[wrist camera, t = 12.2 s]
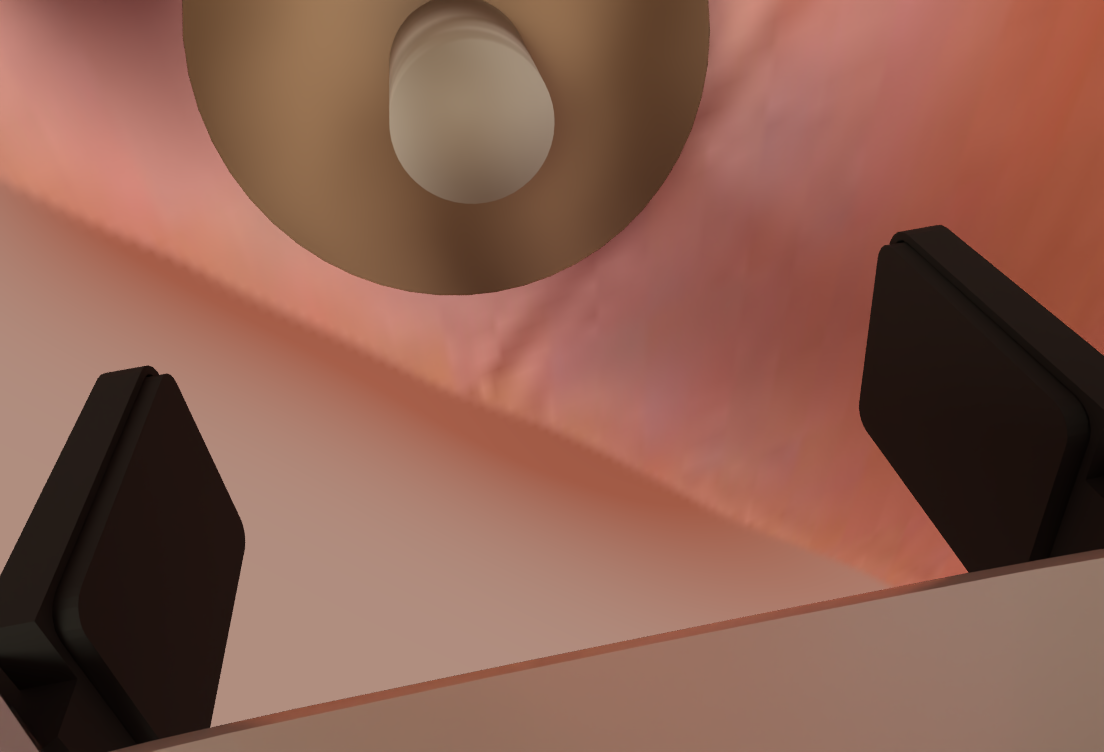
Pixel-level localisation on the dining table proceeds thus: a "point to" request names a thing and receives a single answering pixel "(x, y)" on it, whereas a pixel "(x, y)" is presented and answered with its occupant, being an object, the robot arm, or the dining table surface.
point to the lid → (448, 126)
